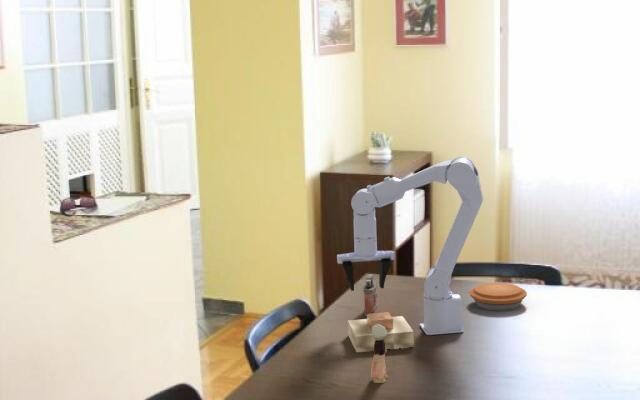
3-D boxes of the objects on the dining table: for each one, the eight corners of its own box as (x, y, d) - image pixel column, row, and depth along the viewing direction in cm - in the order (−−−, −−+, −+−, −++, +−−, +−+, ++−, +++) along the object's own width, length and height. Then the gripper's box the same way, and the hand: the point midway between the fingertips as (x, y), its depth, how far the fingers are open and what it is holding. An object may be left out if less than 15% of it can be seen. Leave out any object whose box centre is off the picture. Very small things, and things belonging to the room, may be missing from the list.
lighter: (374, 317, 239) (373, 281, 237) (362, 317, 239) (361, 280, 238) (378, 307, 247) (377, 272, 245) (366, 307, 247) (365, 272, 245)
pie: (534, 300, 248) (535, 283, 247) (514, 317, 235) (514, 298, 234) (482, 293, 256) (482, 276, 255) (460, 309, 243) (460, 291, 242)
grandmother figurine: (371, 373, 200) (370, 319, 198) (389, 373, 200) (387, 319, 198) (370, 387, 193) (368, 330, 190) (388, 387, 192) (386, 330, 190)
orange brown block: (388, 335, 223) (388, 312, 222) (393, 342, 218) (393, 318, 217) (367, 337, 222) (366, 313, 221) (371, 344, 217) (371, 320, 216)
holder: (402, 331, 227) (402, 316, 226) (414, 347, 215) (413, 331, 215) (348, 335, 225) (347, 320, 225) (356, 352, 214) (356, 336, 213)
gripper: (339, 242, 222) (341, 295, 224) (396, 238, 223) (398, 290, 226) (335, 235, 228) (337, 287, 231) (390, 232, 230) (392, 283, 233)
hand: (366, 288), depth 229 cm, fingers open, 7 cm apart
